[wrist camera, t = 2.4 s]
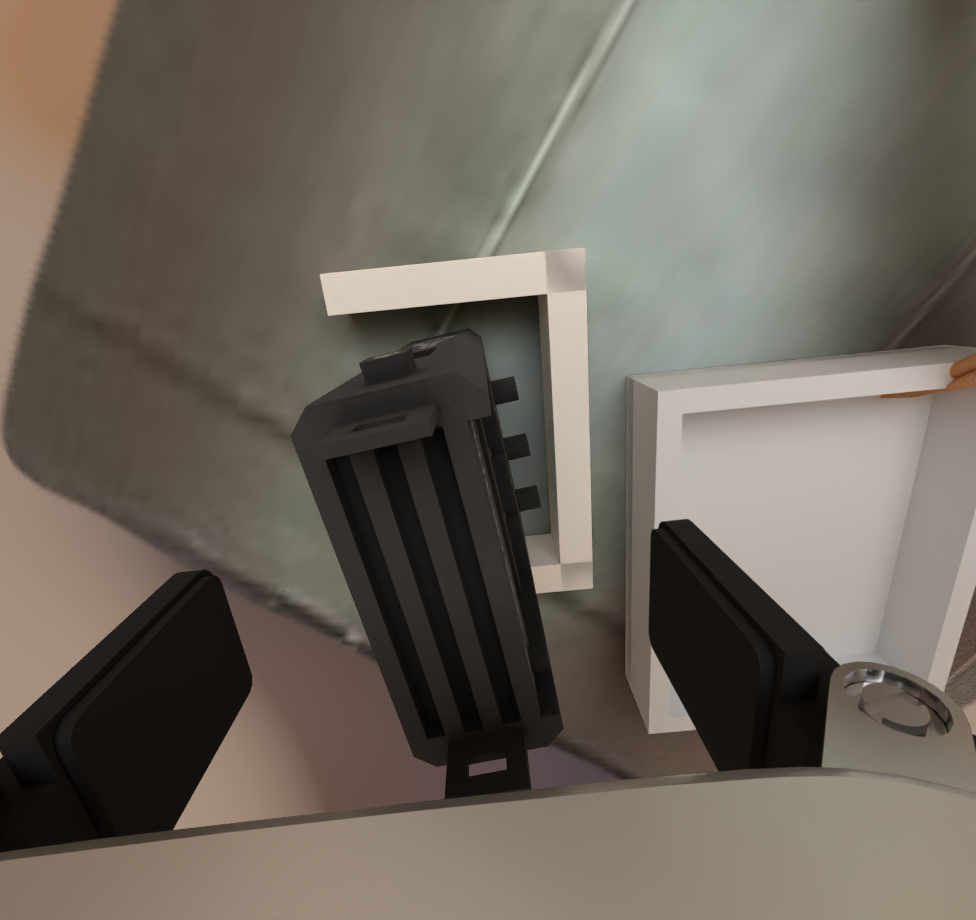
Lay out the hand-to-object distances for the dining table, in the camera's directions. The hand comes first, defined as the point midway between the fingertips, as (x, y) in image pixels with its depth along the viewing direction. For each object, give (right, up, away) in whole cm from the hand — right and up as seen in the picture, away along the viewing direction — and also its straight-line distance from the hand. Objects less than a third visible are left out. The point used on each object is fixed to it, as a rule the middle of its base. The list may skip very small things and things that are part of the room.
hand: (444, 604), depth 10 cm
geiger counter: (0, +5, +13) cm, 14 cm away
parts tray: (+16, -1, +15) cm, 22 cm away
